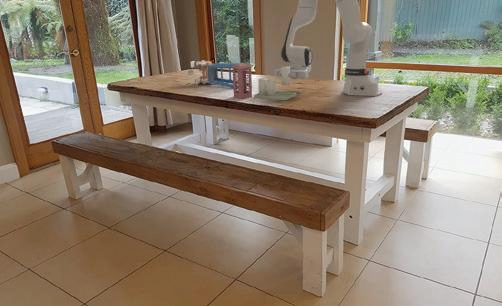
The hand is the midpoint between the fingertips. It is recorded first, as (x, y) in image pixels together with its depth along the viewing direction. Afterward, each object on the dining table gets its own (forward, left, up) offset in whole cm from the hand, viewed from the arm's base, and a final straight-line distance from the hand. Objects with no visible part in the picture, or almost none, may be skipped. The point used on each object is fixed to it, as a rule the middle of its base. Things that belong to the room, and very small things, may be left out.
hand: (284, 75), depth 216 cm
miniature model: (+23, +9, -13) cm, 28 cm away
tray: (+6, +1, -13) cm, 14 cm away
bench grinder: (+62, -23, -13) cm, 67 cm away
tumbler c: (0, -1, -5) cm, 6 cm away
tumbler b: (+12, +4, -12) cm, 18 cm away
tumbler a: (+7, +4, -12) cm, 15 cm away
